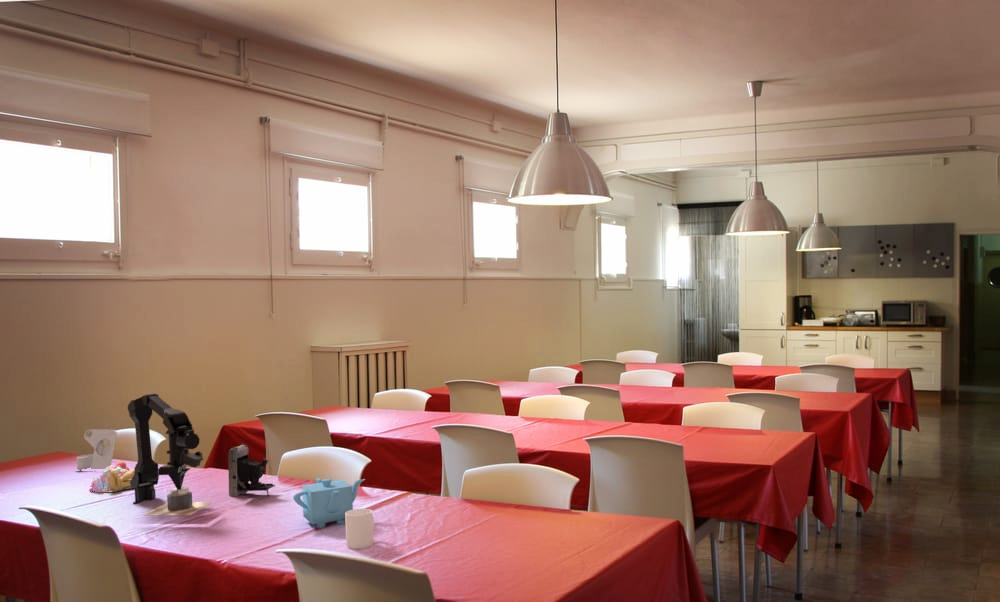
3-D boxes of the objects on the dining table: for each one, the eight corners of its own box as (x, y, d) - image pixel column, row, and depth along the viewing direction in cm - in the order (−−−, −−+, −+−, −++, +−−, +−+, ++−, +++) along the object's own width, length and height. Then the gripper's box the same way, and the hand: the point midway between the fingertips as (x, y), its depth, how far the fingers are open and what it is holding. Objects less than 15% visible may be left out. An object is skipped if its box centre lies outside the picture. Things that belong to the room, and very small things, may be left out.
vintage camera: (264, 501, 320) (264, 448, 320) (227, 498, 323) (227, 447, 323) (276, 495, 330) (276, 444, 329) (240, 493, 333) (240, 443, 332)
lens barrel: (163, 510, 304) (162, 497, 304) (174, 504, 313) (174, 491, 312) (185, 510, 303) (184, 496, 303) (196, 504, 312) (195, 491, 311)
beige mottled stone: (166, 499, 304) (166, 491, 304) (176, 494, 312) (176, 486, 312) (183, 499, 304) (182, 491, 304) (192, 494, 311) (192, 486, 311)
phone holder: (73, 471, 387) (72, 432, 386) (89, 466, 397) (87, 428, 396) (106, 472, 383) (104, 432, 382) (121, 467, 392) (119, 428, 392)
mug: (362, 536, 267) (361, 504, 267) (385, 539, 264) (383, 506, 264) (340, 548, 256) (339, 514, 256) (363, 550, 253) (362, 516, 253)
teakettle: (290, 528, 279) (288, 484, 279) (318, 513, 297) (316, 472, 297) (341, 531, 274) (339, 487, 274) (367, 516, 292) (365, 474, 292)
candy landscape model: (160, 483, 356) (160, 462, 356) (109, 496, 336) (108, 473, 336) (124, 478, 369) (124, 457, 369) (73, 490, 349) (72, 468, 349)
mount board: (142, 518, 299) (142, 515, 299) (167, 505, 317) (167, 502, 317) (190, 518, 297) (190, 515, 297) (213, 505, 315) (213, 501, 315)
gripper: (185, 451, 297) (187, 495, 298) (209, 441, 316) (211, 483, 316) (156, 452, 299) (158, 495, 299) (181, 442, 317) (183, 483, 317)
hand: (179, 489), depth 308 cm, fingers closed, pressing on beige mottled stone
